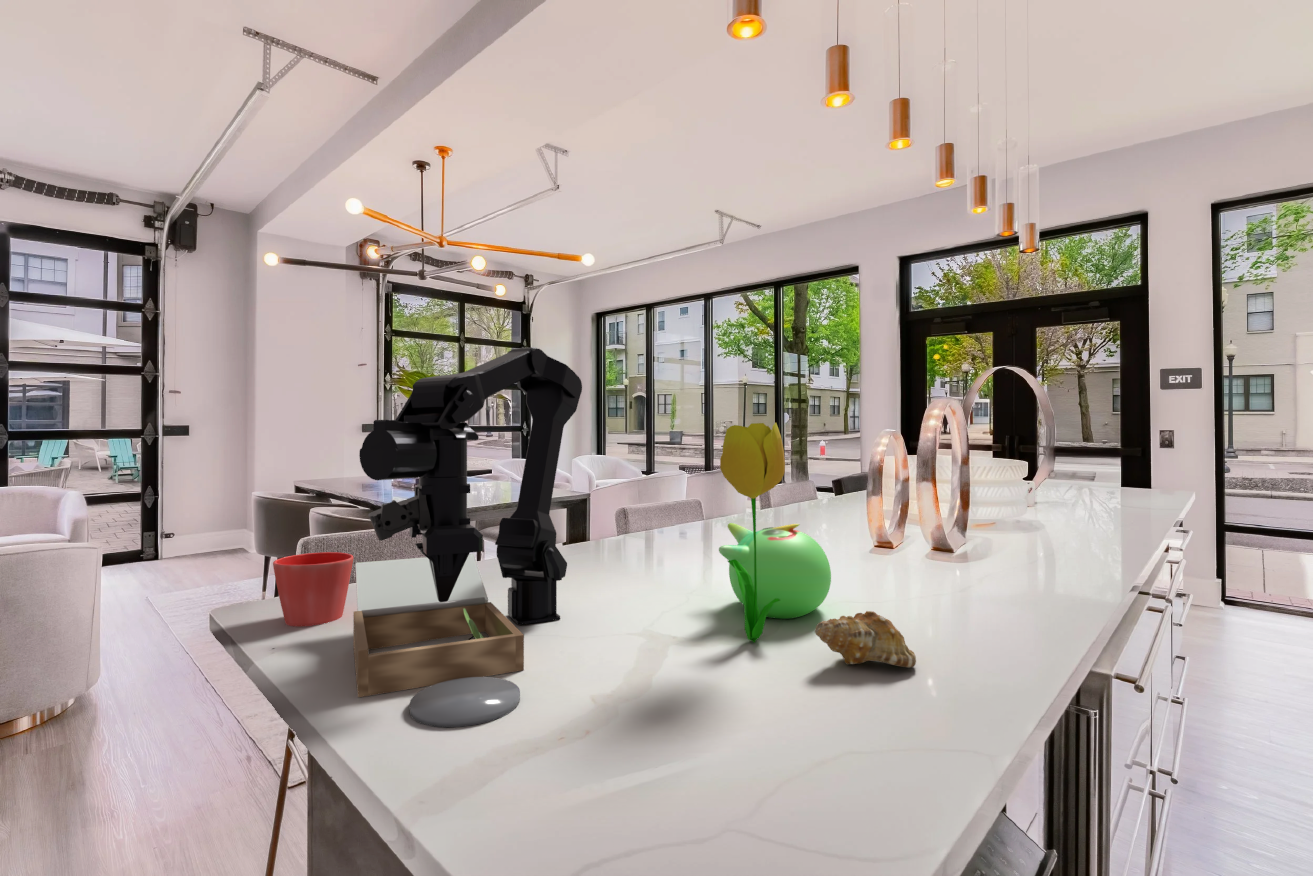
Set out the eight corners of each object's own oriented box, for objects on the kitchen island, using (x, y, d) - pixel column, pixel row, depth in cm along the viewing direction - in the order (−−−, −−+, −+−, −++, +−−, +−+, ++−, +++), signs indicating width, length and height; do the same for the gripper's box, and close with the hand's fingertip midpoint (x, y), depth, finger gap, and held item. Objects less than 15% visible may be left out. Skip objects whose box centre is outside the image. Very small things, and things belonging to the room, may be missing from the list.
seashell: (887, 707, 71) (841, 631, 71) (839, 696, 78) (798, 627, 78) (933, 655, 75) (890, 583, 75) (883, 650, 82) (844, 584, 82)
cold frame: (490, 631, 92) (490, 596, 92) (523, 670, 76) (523, 628, 76) (353, 649, 84) (353, 611, 84) (358, 697, 68) (358, 650, 68)
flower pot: (320, 633, 91) (320, 565, 91) (255, 628, 93) (256, 562, 94) (368, 613, 102) (368, 553, 102) (308, 610, 104) (309, 551, 104)
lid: (473, 614, 101) (473, 553, 101) (488, 633, 91) (488, 565, 91) (355, 629, 93) (355, 562, 93) (357, 650, 83) (358, 576, 83)
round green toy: (837, 635, 90) (837, 531, 90) (718, 630, 92) (717, 529, 92) (825, 604, 107) (824, 517, 107) (725, 600, 110) (724, 515, 110)
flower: (792, 641, 87) (791, 422, 87) (778, 659, 80) (777, 420, 80) (732, 633, 91) (731, 423, 91) (713, 650, 83) (712, 422, 84)
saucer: (506, 677, 73) (506, 670, 73) (532, 713, 64) (532, 705, 64) (404, 694, 68) (404, 687, 68) (416, 736, 59) (416, 727, 59)
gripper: (369, 475, 84) (368, 592, 84) (378, 482, 68) (377, 628, 67) (455, 473, 89) (455, 584, 89) (483, 479, 73) (483, 616, 72)
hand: (443, 601), depth 79 cm, fingers closed
